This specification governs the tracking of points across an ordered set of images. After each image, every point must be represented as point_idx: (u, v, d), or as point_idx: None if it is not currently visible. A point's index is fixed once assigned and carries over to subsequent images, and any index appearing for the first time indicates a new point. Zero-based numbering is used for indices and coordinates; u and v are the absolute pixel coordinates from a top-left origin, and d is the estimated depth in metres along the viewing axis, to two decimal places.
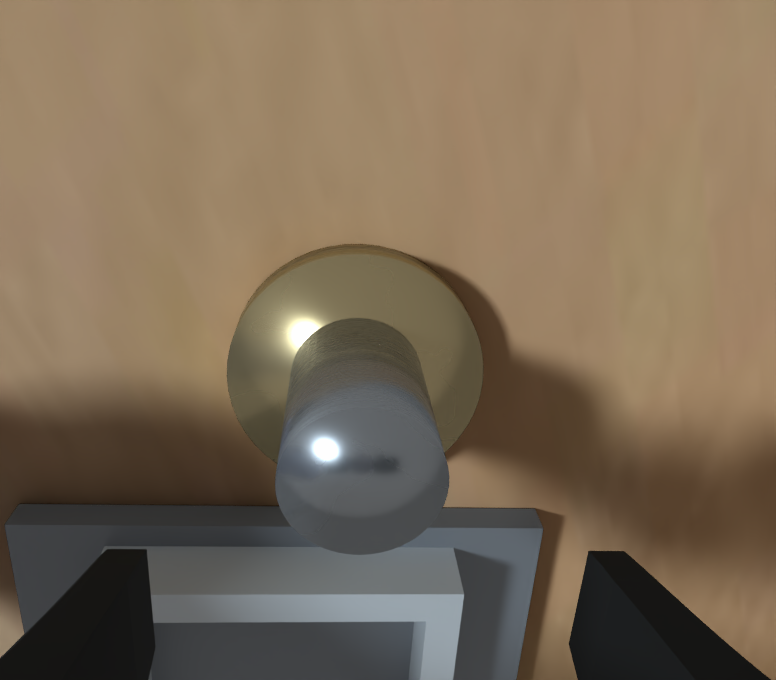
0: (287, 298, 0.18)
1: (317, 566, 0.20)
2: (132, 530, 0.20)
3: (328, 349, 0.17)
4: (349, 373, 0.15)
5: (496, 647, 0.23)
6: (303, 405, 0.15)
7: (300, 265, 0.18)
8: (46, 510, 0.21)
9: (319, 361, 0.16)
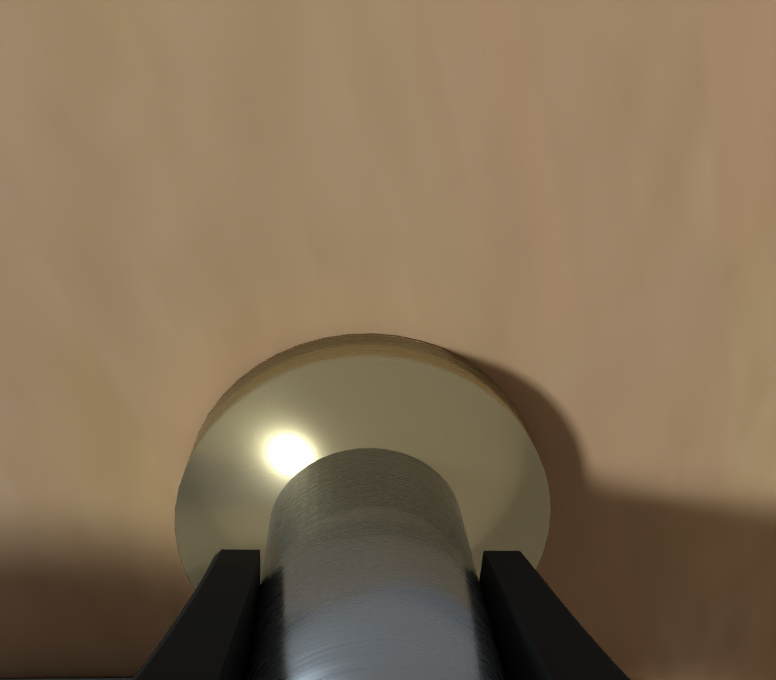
0: (262, 422, 0.12)
1: None
2: None
3: (324, 517, 0.11)
4: (356, 584, 0.09)
5: None
6: (281, 650, 0.09)
7: (282, 374, 0.12)
8: None
9: (309, 544, 0.10)
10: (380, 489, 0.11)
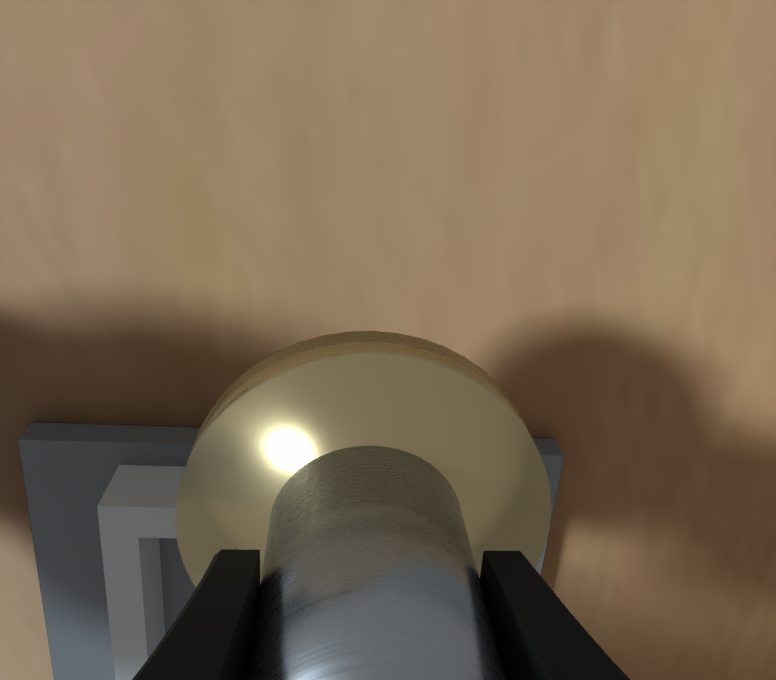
0: (263, 420, 0.12)
1: None
2: (147, 448, 0.20)
3: (325, 514, 0.11)
4: (358, 582, 0.09)
5: None
6: (281, 647, 0.09)
7: (282, 371, 0.12)
8: (60, 428, 0.20)
9: (310, 540, 0.10)
10: (381, 487, 0.11)
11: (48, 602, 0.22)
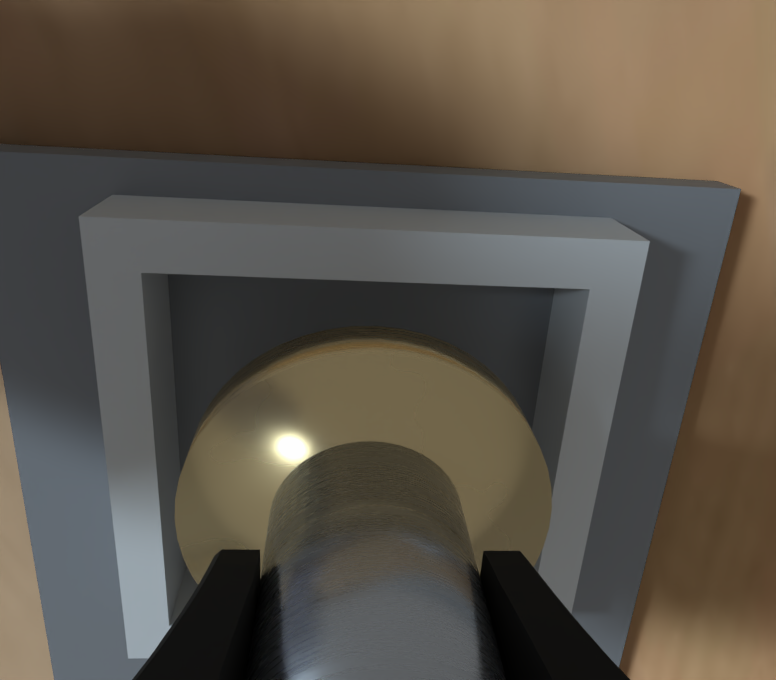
0: (264, 414, 0.12)
1: (425, 218, 0.14)
2: (153, 168, 0.14)
3: (326, 511, 0.11)
4: (359, 582, 0.09)
5: (653, 390, 0.17)
6: (281, 645, 0.09)
7: (284, 366, 0.12)
8: (28, 147, 0.14)
9: (311, 538, 0.10)
10: (382, 484, 0.11)
11: (18, 417, 0.16)
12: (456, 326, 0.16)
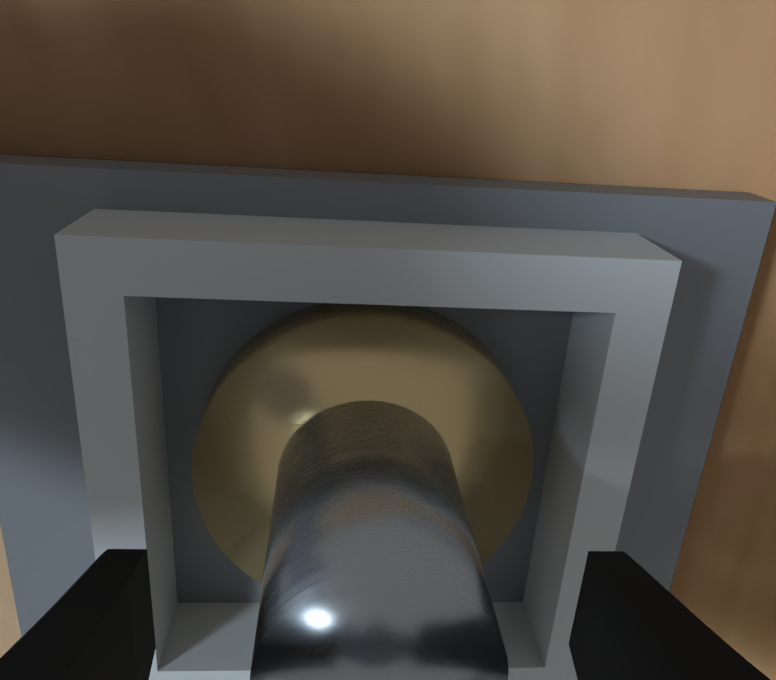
0: (274, 375, 0.13)
1: (435, 234, 0.13)
2: (138, 180, 0.13)
3: (331, 455, 0.12)
4: (360, 506, 0.10)
5: (679, 417, 0.16)
6: (293, 559, 0.10)
7: (292, 331, 0.13)
8: (3, 157, 0.13)
9: (317, 477, 0.11)
10: (380, 433, 0.12)
11: None
12: None
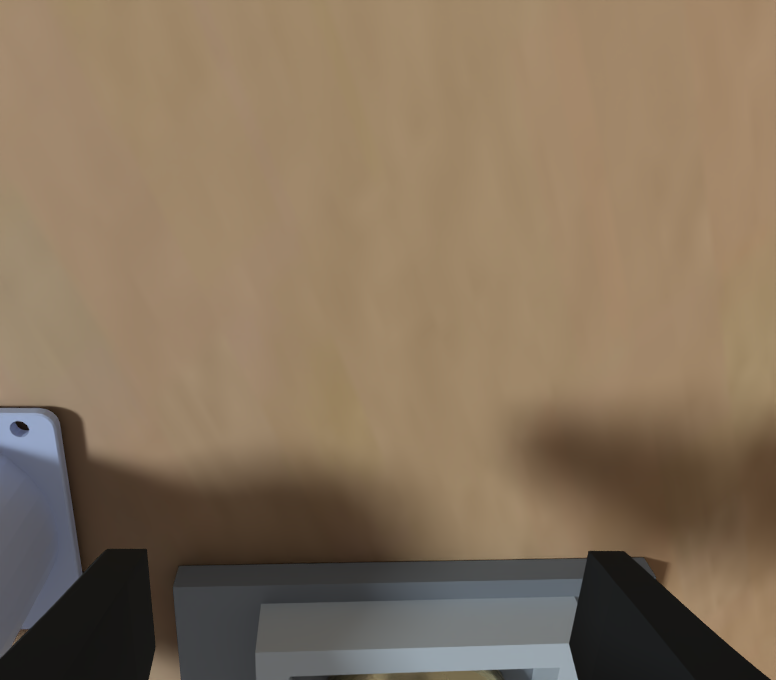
0: None
1: (457, 619, 0.22)
2: (287, 589, 0.22)
3: None
4: None
5: None
6: None
7: None
8: (205, 571, 0.23)
9: None
10: None
11: None
12: None
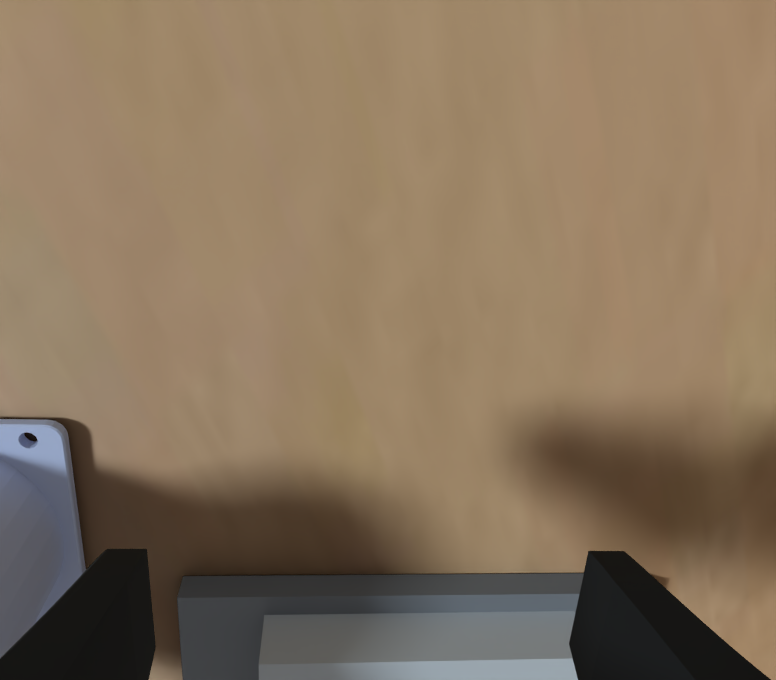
0: None
1: (459, 632, 0.22)
2: (290, 600, 0.22)
3: None
4: None
5: None
6: None
7: None
8: (210, 582, 0.23)
9: None
10: None
11: None
12: None
